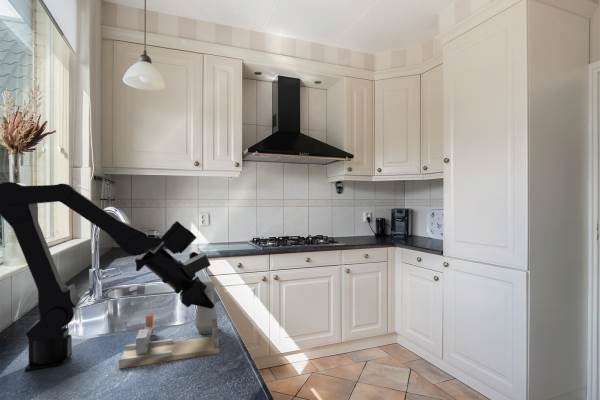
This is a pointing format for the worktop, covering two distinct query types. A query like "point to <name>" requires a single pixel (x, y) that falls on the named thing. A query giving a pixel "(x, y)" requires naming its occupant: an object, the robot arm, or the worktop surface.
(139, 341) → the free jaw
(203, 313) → the salt shaker
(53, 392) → the worktop surface
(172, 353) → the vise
